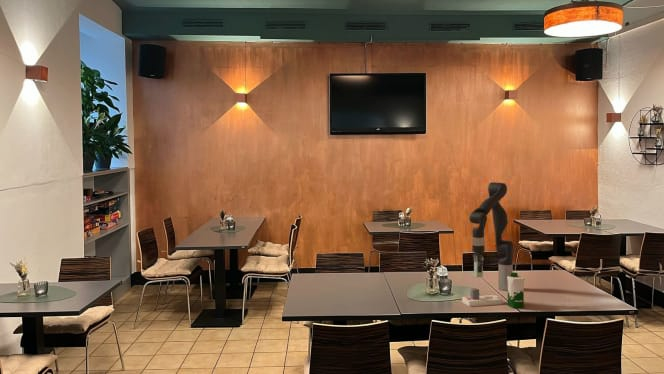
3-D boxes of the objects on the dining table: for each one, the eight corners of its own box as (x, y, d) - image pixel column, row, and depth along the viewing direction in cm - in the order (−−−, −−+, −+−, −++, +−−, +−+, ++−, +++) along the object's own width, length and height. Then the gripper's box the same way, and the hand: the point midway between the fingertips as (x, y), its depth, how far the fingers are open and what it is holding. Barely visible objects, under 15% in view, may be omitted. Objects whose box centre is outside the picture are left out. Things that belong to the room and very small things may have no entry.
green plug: (480, 275, 356) (480, 261, 355) (482, 277, 352) (482, 262, 351) (474, 275, 356) (474, 261, 355) (476, 277, 352) (476, 263, 351)
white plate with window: (495, 299, 357) (495, 285, 357) (503, 304, 346) (503, 289, 346) (462, 301, 354) (462, 287, 353) (469, 306, 343) (469, 291, 342)
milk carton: (518, 304, 346) (518, 271, 345) (526, 308, 337) (526, 275, 336) (505, 305, 344) (505, 272, 343) (513, 309, 336) (513, 275, 334)
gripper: (488, 245, 346) (488, 273, 347) (479, 242, 360) (479, 268, 361) (477, 246, 345) (477, 274, 346) (468, 242, 359) (468, 269, 360)
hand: (478, 271), depth 354 cm, fingers closed on green plug, 4 cm apart
